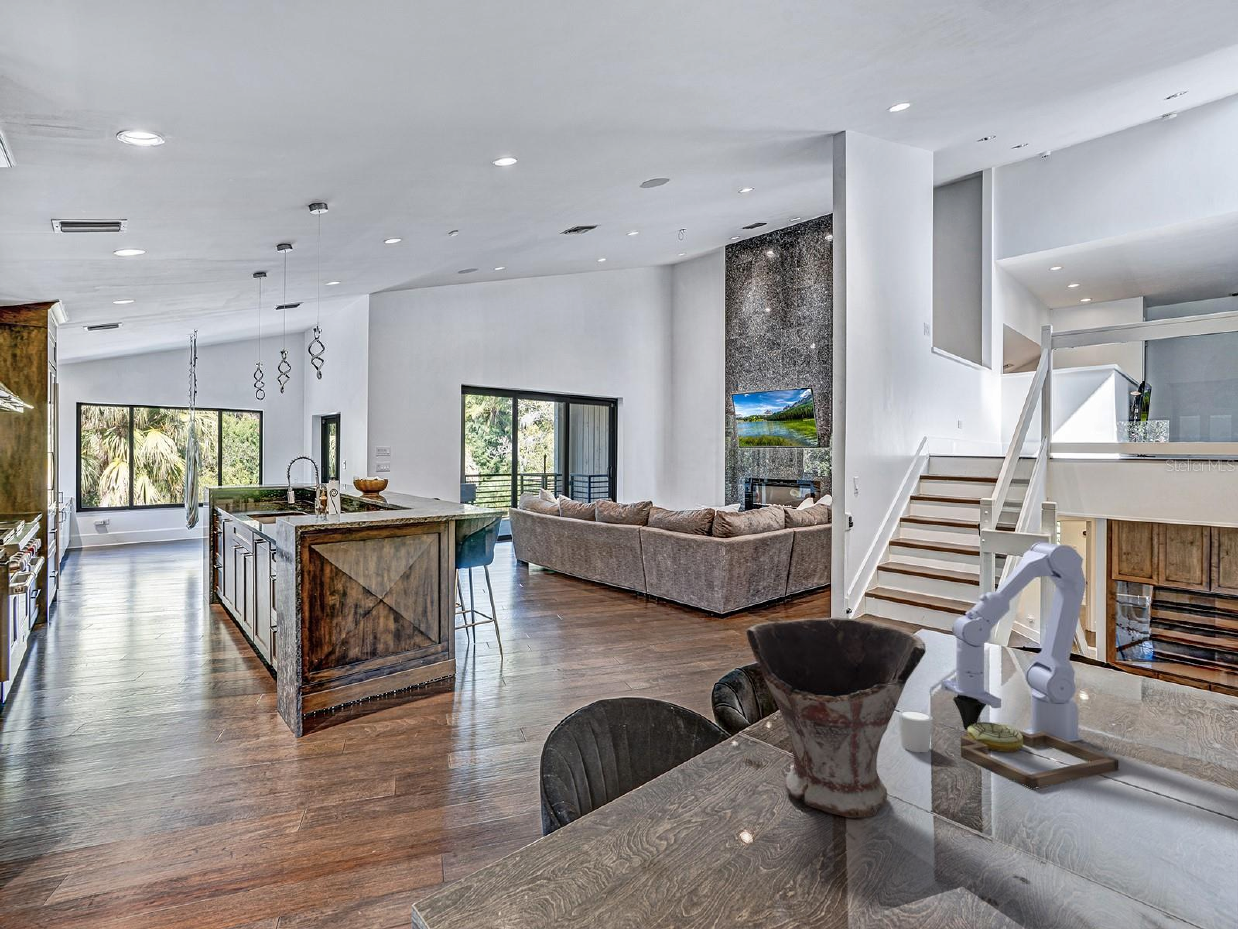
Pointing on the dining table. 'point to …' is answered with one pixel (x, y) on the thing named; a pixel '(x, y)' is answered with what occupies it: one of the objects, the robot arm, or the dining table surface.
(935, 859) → the dining table surface
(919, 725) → the white cylinder
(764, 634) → the vessel
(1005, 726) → the decorated donut
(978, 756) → the frame
